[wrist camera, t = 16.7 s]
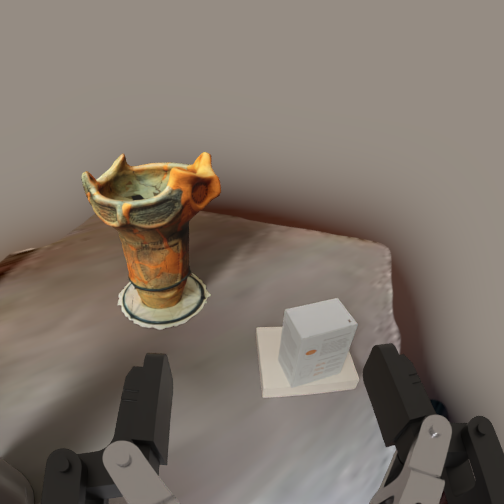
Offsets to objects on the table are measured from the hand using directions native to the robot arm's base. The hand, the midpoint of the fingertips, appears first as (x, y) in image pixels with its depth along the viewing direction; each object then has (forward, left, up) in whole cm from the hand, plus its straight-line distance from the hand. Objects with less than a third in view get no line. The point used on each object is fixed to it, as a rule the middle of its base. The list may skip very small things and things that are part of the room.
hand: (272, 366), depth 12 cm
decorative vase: (-14, +40, -30) cm, 52 cm away
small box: (+10, +20, -28) cm, 36 cm away
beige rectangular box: (+10, +23, -30) cm, 39 cm away
